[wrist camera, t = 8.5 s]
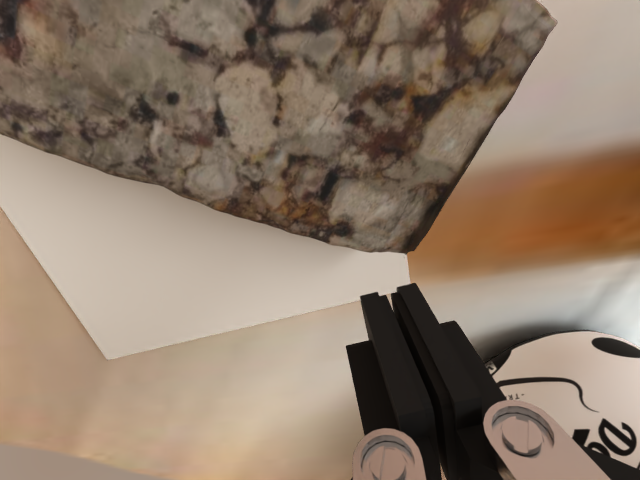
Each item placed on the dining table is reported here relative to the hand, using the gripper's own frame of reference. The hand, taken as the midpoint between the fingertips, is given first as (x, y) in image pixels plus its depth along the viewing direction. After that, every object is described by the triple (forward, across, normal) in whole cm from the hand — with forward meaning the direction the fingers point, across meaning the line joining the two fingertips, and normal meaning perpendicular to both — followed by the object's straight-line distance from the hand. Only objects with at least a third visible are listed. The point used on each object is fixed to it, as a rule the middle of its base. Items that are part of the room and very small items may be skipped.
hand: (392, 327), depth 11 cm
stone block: (+9, -6, -2) cm, 11 cm away
